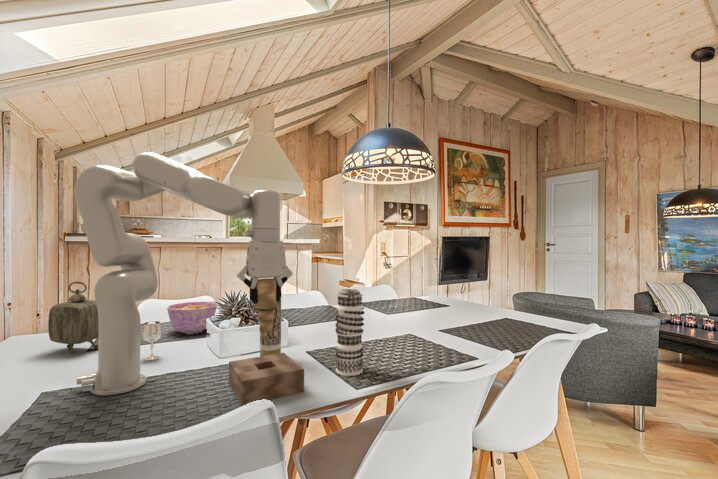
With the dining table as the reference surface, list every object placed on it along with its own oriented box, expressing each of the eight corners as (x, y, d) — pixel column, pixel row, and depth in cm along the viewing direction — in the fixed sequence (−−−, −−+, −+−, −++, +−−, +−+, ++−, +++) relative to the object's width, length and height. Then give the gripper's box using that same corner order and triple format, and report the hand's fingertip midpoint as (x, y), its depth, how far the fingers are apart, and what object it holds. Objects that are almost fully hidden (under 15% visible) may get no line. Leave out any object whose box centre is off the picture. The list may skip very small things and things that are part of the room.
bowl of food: (208, 324, 167) (209, 300, 168) (223, 332, 152) (223, 306, 152) (161, 331, 155) (162, 304, 155) (172, 341, 139) (172, 311, 139)
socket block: (242, 406, 85) (242, 381, 85) (228, 383, 98) (228, 361, 99) (304, 391, 93) (304, 369, 93) (283, 372, 107) (283, 352, 107)
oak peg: (258, 334, 92) (258, 281, 92) (252, 329, 97) (252, 279, 97) (278, 331, 95) (279, 279, 95) (272, 327, 100) (272, 278, 100)
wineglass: (139, 358, 119) (140, 322, 119) (158, 354, 123) (159, 320, 123) (144, 362, 115) (144, 325, 115) (163, 358, 119) (164, 322, 119)
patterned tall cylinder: (369, 368, 110) (370, 289, 110) (354, 378, 102) (354, 292, 102) (345, 363, 115) (345, 287, 115) (328, 372, 107) (329, 290, 107)
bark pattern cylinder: (275, 364, 114) (275, 287, 114) (256, 362, 115) (256, 286, 115) (284, 357, 121) (284, 284, 121) (265, 355, 122) (266, 284, 122)
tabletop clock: (105, 348, 129) (105, 280, 129) (83, 356, 120) (84, 283, 120) (69, 347, 131) (69, 280, 131) (45, 354, 122) (45, 282, 122)
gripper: (236, 235, 88) (236, 307, 88) (300, 236, 97) (300, 301, 97) (230, 235, 95) (230, 302, 95) (290, 236, 104) (290, 297, 104)
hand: (265, 301), depth 96 cm, fingers closed on oak peg, 5 cm apart
